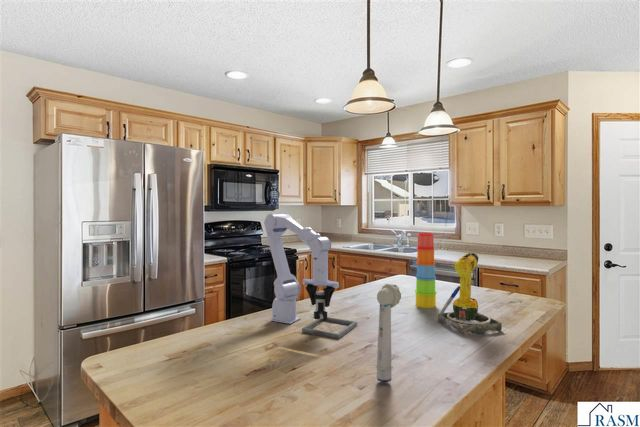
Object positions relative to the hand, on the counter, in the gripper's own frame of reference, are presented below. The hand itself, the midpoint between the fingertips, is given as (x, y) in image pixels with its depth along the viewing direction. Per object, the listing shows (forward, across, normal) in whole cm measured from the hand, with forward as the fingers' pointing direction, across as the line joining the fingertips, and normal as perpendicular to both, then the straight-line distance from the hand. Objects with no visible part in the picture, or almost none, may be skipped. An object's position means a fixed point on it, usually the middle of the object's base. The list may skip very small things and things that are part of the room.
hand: (320, 305), depth 135 cm
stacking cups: (+10, +28, +52) cm, 60 cm away
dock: (+9, +2, +3) cm, 10 cm away
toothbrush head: (+10, +34, -25) cm, 43 cm away
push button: (+5, 0, -1) cm, 5 cm away
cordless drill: (+10, +49, +32) cm, 59 cm away
